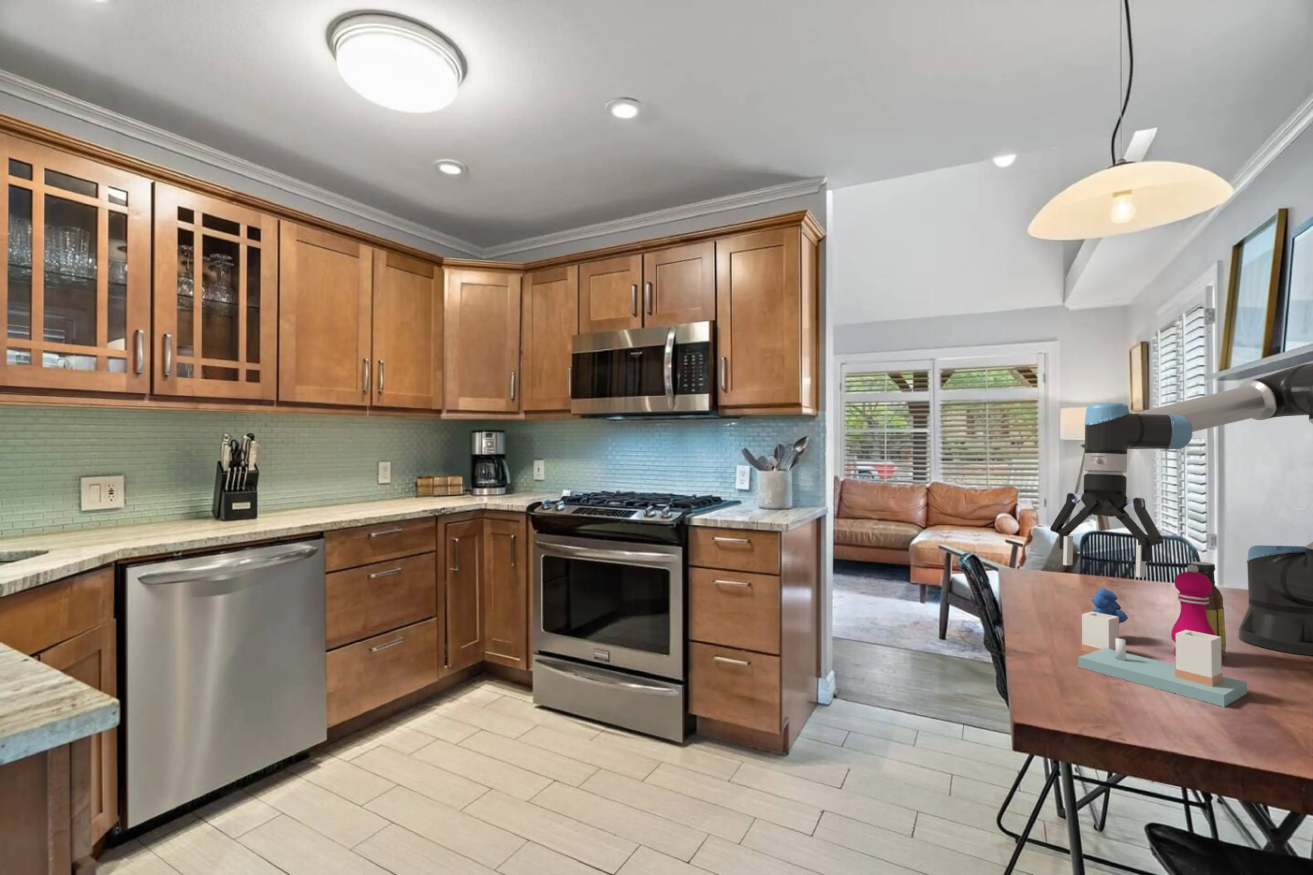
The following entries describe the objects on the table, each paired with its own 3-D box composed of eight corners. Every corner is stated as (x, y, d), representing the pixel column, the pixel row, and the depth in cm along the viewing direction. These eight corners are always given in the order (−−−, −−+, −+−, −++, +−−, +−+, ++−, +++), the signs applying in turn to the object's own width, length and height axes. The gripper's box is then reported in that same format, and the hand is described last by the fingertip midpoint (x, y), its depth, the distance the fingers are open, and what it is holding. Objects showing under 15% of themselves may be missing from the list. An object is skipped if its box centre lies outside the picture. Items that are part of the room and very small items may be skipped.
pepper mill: (1177, 661, 124) (1176, 565, 125) (1167, 651, 131) (1165, 560, 131) (1222, 667, 121) (1221, 569, 122) (1210, 657, 127) (1208, 563, 128)
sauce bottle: (1210, 650, 132) (1208, 560, 133) (1234, 659, 126) (1233, 565, 127) (1178, 648, 133) (1177, 559, 134) (1201, 657, 127) (1200, 564, 127)
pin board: (1105, 657, 126) (1104, 628, 126) (1247, 693, 107) (1246, 659, 107) (1078, 666, 120) (1078, 636, 120) (1224, 706, 101) (1223, 671, 101)
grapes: (1118, 648, 133) (1117, 594, 133) (1083, 639, 138) (1083, 588, 139) (1138, 640, 139) (1137, 588, 139) (1104, 632, 145) (1103, 583, 145)
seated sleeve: (1185, 672, 112) (1185, 629, 112) (1222, 681, 108) (1221, 636, 108) (1175, 676, 109) (1174, 633, 110) (1212, 686, 105) (1211, 640, 105)
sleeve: (1092, 647, 133) (1092, 611, 133) (1119, 653, 128) (1119, 616, 129) (1081, 650, 130) (1081, 614, 130) (1109, 657, 126) (1108, 619, 126)
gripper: (1035, 470, 139) (1032, 561, 138) (1169, 476, 117) (1167, 583, 117) (1051, 471, 142) (1048, 559, 142) (1184, 477, 121) (1182, 580, 121)
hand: (1102, 570), depth 129 cm, fingers open, 13 cm apart
